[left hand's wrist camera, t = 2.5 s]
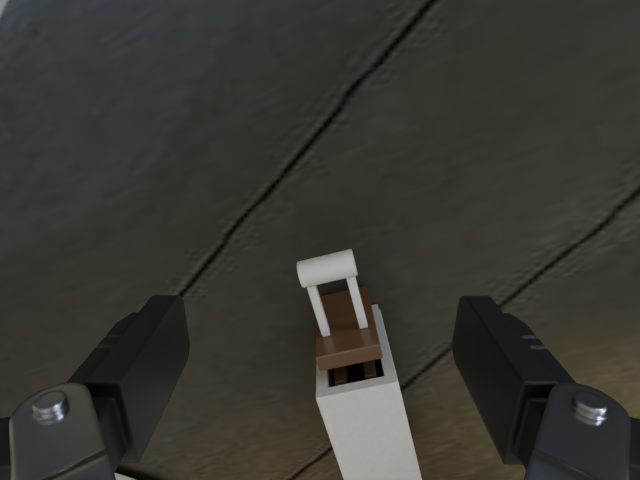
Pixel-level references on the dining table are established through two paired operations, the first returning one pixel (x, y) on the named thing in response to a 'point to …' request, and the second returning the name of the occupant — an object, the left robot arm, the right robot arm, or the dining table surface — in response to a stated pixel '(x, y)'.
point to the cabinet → (369, 421)
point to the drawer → (342, 319)
